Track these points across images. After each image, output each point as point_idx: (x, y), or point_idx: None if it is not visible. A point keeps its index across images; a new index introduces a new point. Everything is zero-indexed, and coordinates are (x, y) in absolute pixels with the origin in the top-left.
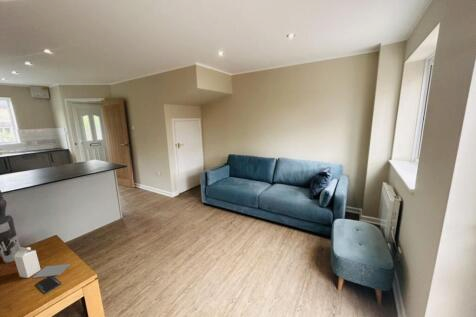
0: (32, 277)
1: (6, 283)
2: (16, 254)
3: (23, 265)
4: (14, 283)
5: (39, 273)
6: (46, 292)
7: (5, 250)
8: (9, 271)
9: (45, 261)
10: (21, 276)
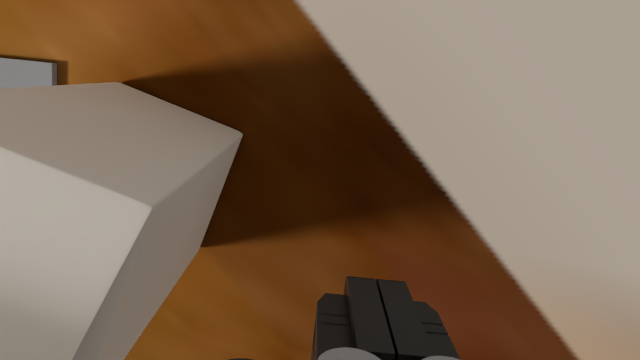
0: (51, 66)
1: (313, 47)
2: (88, 237)
3: (33, 95)
4: (210, 21)
5: None
6: None
7: (348, 349)
8: (458, 270)
9: (155, 356)
10: (211, 120)
